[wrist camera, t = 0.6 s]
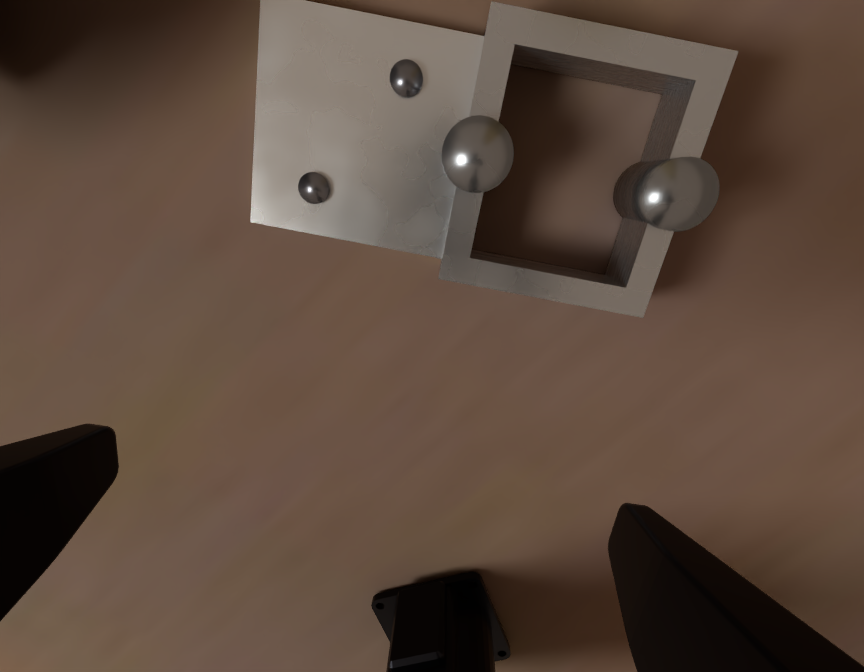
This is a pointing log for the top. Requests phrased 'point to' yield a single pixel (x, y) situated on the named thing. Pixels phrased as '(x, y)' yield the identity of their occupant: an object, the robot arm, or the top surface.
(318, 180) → the hinge base
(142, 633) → the top surface
